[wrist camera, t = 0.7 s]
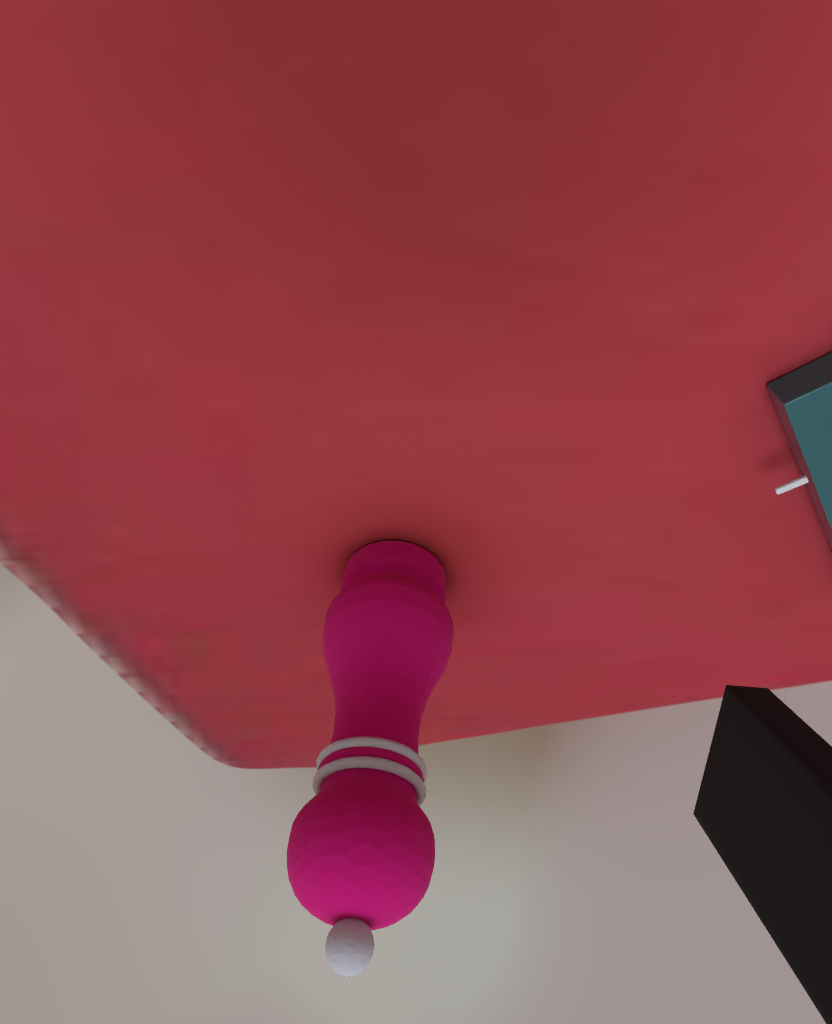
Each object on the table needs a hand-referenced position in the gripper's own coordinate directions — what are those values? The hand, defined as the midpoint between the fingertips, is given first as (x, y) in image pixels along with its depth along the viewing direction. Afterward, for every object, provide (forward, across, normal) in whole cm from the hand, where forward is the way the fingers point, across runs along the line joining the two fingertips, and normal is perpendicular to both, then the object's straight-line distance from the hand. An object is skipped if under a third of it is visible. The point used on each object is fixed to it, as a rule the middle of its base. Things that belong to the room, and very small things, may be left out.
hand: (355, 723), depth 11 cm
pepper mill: (+26, +1, -7) cm, 26 cm away
